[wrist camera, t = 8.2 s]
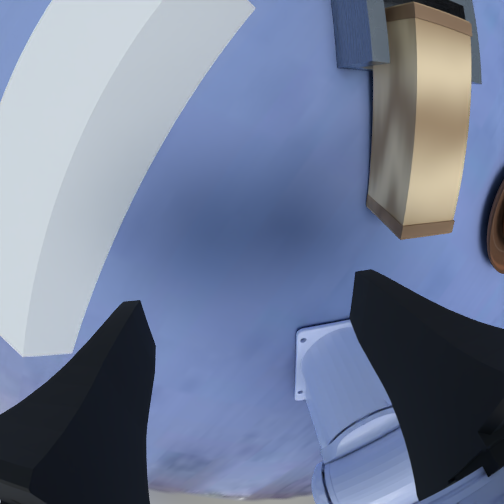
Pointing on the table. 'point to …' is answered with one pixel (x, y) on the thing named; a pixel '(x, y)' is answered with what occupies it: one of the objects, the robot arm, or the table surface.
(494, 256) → the cup and saucer
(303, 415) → the table surface
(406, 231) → the tan rectangular block
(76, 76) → the crown molding
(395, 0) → the bracket
